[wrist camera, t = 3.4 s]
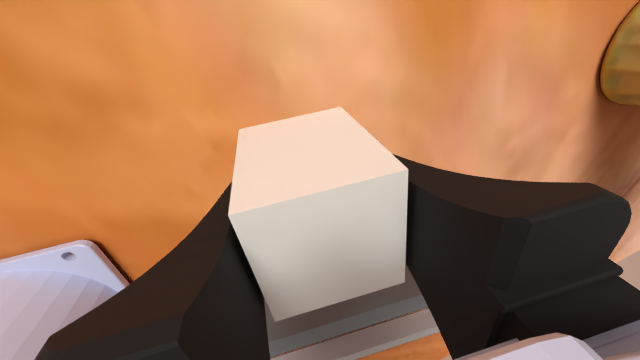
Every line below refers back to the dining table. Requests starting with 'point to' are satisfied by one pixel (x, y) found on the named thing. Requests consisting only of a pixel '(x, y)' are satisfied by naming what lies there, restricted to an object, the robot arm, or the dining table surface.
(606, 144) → the dining table surface
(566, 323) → the robot arm
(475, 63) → the dining table surface
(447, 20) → the dining table surface
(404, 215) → the cabinet block
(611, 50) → the vase
